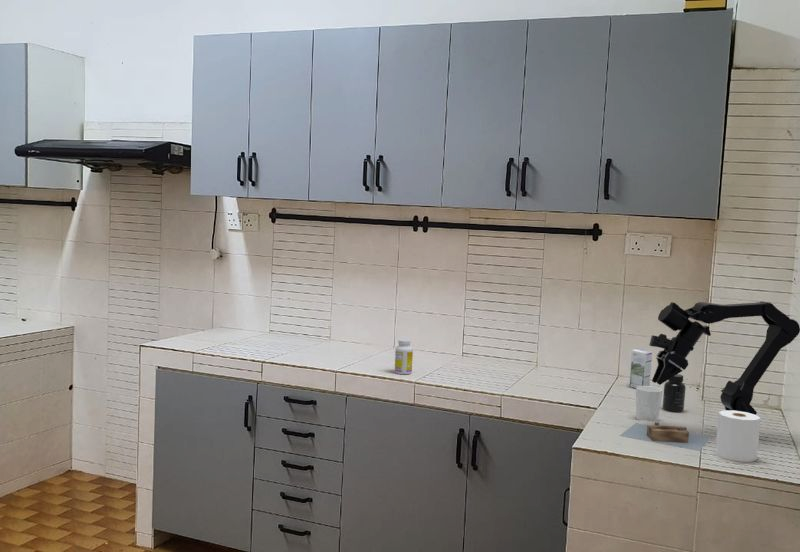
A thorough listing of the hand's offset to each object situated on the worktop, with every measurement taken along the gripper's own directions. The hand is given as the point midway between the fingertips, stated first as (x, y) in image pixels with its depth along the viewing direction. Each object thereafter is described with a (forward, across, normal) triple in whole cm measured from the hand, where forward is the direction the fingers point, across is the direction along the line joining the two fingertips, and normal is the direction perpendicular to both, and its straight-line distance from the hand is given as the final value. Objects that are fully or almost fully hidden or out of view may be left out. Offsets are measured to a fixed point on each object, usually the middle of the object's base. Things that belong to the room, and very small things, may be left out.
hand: (655, 382), depth 234 cm
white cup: (+11, -18, +7) cm, 22 cm away
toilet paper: (+6, +16, +26) cm, 31 cm away
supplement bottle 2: (+3, -34, +15) cm, 38 cm away
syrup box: (+3, -66, +7) cm, 66 cm away
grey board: (+12, +3, +11) cm, 16 cm away
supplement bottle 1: (+49, -58, -69) cm, 103 cm away
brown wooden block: (+12, +6, +10) cm, 17 cm away
